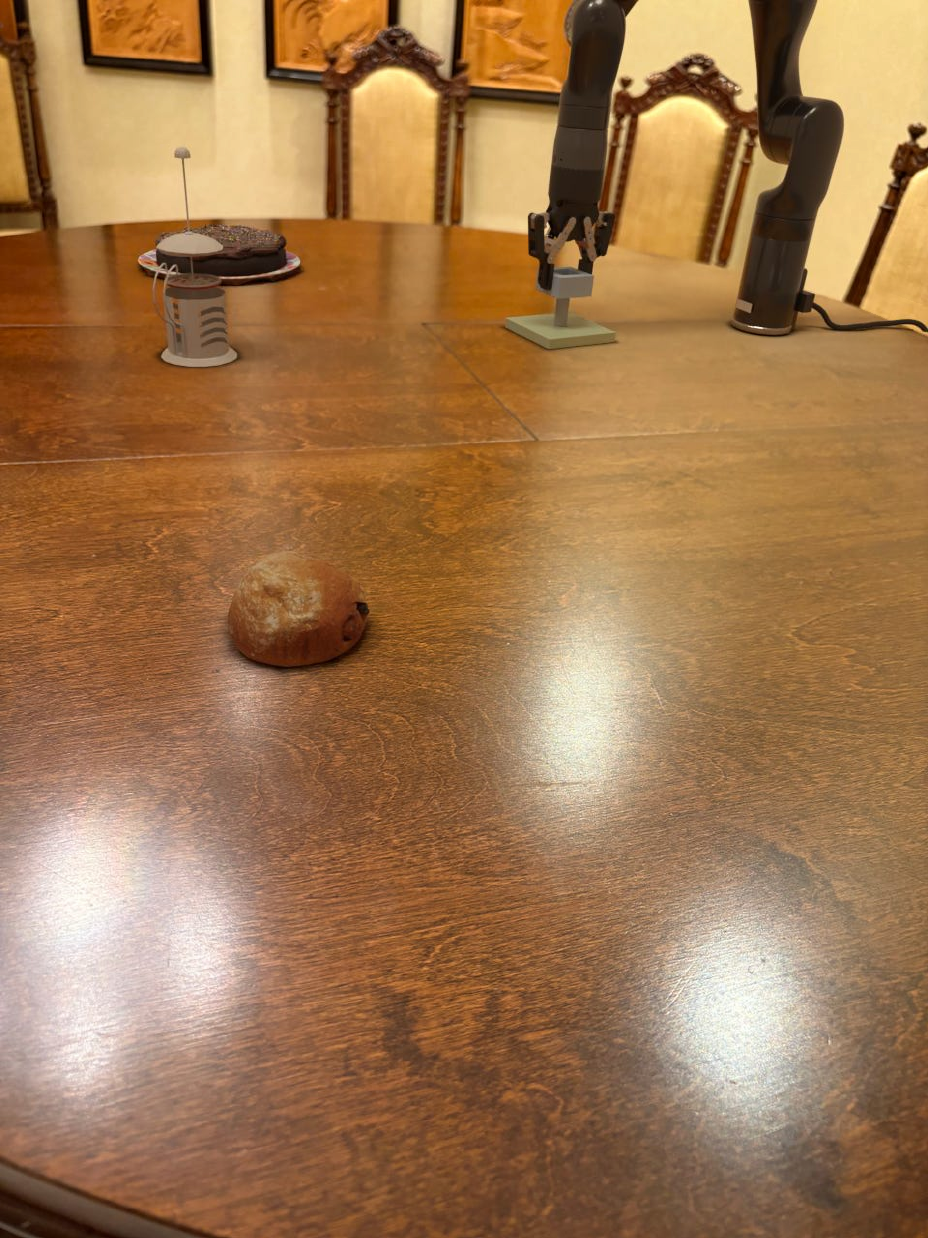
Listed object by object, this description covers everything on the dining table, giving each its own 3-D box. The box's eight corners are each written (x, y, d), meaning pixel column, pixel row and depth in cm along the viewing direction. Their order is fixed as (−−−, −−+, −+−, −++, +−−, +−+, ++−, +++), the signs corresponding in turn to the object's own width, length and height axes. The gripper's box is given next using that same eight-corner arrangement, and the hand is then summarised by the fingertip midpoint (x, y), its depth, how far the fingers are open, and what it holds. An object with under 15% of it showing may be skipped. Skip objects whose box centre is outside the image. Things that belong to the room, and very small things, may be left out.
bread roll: (263, 635, 79) (214, 556, 74) (379, 589, 77) (335, 506, 73) (251, 709, 70) (194, 625, 66) (380, 659, 69) (330, 570, 65)
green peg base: (568, 321, 154) (573, 285, 151) (614, 342, 146) (619, 304, 143) (504, 327, 149) (507, 290, 146) (548, 349, 140) (552, 310, 137)
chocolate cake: (103, 270, 164) (98, 229, 161) (201, 244, 187) (198, 207, 183) (245, 294, 156) (242, 251, 153) (329, 264, 179) (329, 226, 175)
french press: (252, 352, 130) (240, 147, 117) (197, 375, 121) (178, 155, 108) (193, 340, 134) (175, 139, 120) (135, 361, 125) (109, 146, 111)
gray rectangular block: (568, 286, 147) (570, 266, 146) (591, 296, 143) (594, 275, 141) (535, 289, 145) (537, 268, 143) (558, 298, 140) (560, 277, 139)
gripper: (550, 167, 129) (537, 296, 137) (635, 167, 135) (618, 290, 144) (520, 159, 134) (509, 284, 143) (603, 159, 141) (588, 279, 149)
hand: (564, 287), depth 143 cm, fingers closed on gray rectangular block, 6 cm apart
